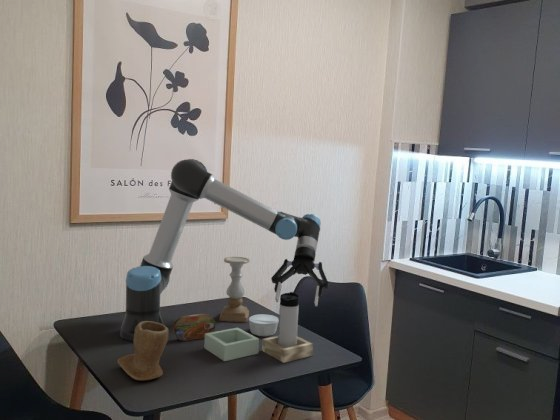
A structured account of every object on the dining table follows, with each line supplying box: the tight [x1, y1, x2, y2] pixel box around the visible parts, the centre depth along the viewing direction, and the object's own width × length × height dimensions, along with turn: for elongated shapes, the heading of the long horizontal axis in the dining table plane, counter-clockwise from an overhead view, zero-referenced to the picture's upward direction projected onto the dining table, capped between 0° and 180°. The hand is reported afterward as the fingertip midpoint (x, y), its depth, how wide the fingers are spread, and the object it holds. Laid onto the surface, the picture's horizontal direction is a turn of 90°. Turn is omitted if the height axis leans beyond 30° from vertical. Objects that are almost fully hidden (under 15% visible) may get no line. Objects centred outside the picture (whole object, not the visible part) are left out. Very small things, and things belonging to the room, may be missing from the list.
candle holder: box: [218, 256, 250, 323], centre depth 206 cm, size 11×11×24 cm
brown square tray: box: [261, 335, 314, 363], centre depth 172 cm, size 12×12×4 cm
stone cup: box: [117, 321, 170, 382], centre depth 151 cm, size 15×12×15 cm
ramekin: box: [248, 313, 279, 337], centre depth 191 cm, size 11×11×5 cm
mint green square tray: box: [203, 327, 260, 362], centre depth 171 cm, size 13×13×5 cm
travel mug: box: [277, 291, 300, 348], centre depth 171 cm, size 6×7×20 cm
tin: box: [172, 313, 216, 342], centre depth 182 cm, size 15×3×8 cm, turn 117°
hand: (296, 302), depth 176 cm, fingers open, 13 cm apart
